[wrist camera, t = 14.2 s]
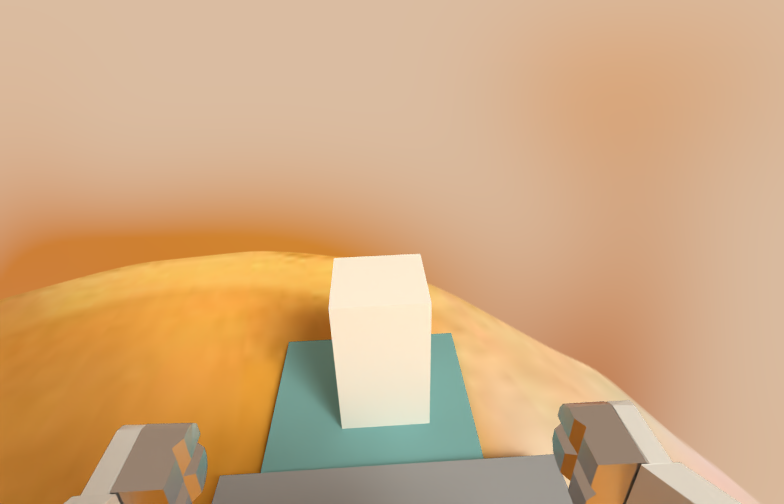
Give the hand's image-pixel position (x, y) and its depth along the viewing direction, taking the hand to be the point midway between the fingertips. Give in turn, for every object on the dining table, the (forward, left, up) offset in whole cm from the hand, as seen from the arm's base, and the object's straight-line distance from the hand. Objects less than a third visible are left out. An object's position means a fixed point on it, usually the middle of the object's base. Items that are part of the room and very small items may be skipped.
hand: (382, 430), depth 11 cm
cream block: (0, +18, -17) cm, 25 cm away
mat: (-1, +18, -18) cm, 25 cm away
